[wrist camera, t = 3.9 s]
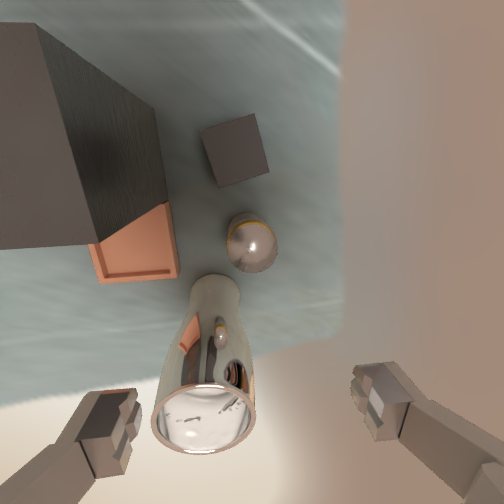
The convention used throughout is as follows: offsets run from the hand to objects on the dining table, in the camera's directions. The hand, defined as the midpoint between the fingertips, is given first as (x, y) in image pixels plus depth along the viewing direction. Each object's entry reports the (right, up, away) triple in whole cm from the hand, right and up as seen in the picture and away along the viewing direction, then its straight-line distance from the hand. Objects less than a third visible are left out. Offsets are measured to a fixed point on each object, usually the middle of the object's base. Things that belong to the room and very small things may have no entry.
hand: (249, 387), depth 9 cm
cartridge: (0, +7, +17) cm, 19 cm away
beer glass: (-4, 0, +20) cm, 20 cm away
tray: (-12, +6, +16) cm, 21 cm away
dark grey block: (-14, +14, +13) cm, 24 cm away
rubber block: (-2, +15, +14) cm, 21 cm away
